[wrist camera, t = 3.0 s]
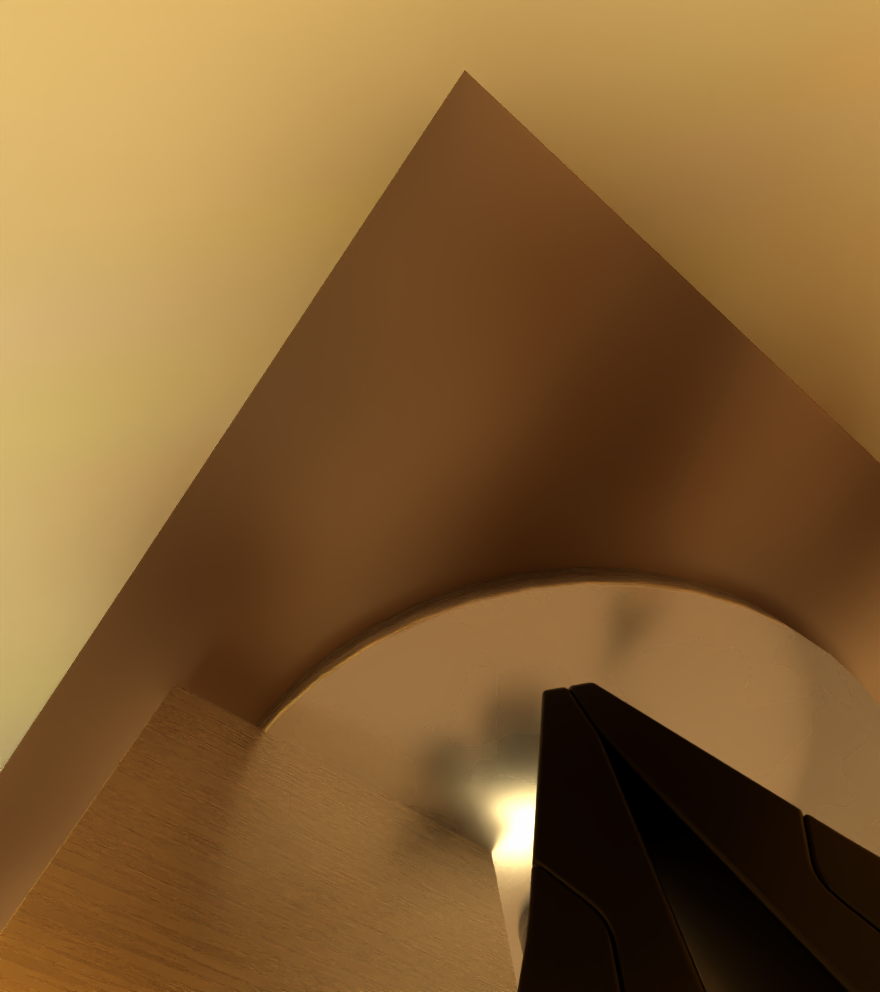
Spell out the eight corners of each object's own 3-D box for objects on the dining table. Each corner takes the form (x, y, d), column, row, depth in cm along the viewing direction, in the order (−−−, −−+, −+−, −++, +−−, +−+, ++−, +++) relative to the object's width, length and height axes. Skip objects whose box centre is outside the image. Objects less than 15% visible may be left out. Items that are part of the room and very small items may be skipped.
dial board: (-101, 946, 14) (-166, 1021, 13) (455, 111, 10) (466, 63, 9) (579, 1193, 20) (595, 1268, 18) (1115, 719, 16) (1199, 761, 14)
